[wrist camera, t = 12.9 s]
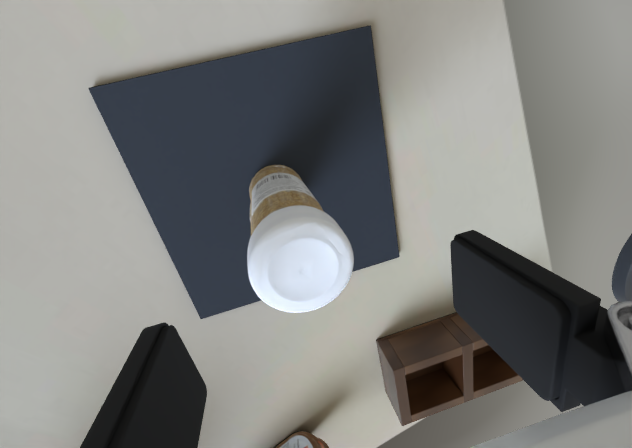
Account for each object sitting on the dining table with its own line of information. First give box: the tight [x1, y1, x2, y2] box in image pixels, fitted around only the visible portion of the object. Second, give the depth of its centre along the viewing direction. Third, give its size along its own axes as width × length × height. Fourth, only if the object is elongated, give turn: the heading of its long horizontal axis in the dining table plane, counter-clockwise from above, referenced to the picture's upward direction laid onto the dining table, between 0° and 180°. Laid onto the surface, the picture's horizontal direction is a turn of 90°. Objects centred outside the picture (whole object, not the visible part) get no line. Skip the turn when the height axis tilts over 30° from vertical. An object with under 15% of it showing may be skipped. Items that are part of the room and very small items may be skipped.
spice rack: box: [376, 312, 523, 426], centre depth 34 cm, size 17×9×4 cm, turn 101°
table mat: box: [89, 26, 399, 319], centre depth 24 cm, size 20×20×1 cm
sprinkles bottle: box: [247, 165, 354, 313], centre depth 18 cm, size 5×5×13 cm
